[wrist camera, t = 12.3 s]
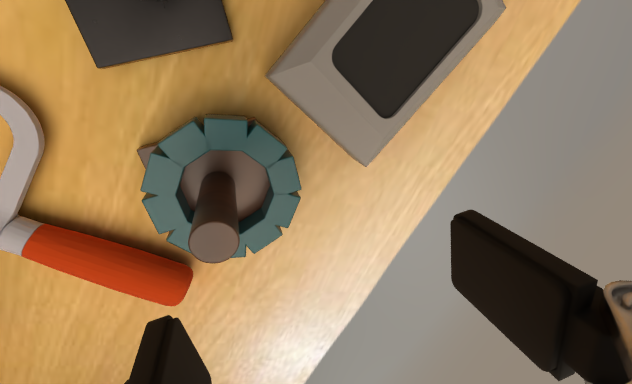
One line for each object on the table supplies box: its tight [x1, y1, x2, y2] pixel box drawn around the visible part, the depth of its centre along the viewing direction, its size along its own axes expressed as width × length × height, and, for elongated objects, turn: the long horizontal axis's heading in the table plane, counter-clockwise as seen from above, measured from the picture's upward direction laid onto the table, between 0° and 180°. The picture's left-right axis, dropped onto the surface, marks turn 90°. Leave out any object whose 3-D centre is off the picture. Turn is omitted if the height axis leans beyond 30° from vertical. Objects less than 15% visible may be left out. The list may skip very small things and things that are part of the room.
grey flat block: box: [265, 0, 506, 167], centre depth 21 cm, size 10×4×15 cm
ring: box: [141, 114, 301, 258], centre depth 21 cm, size 10×10×2 cm
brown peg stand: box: [137, 117, 270, 263], centre depth 19 cm, size 8×8×9 cm
